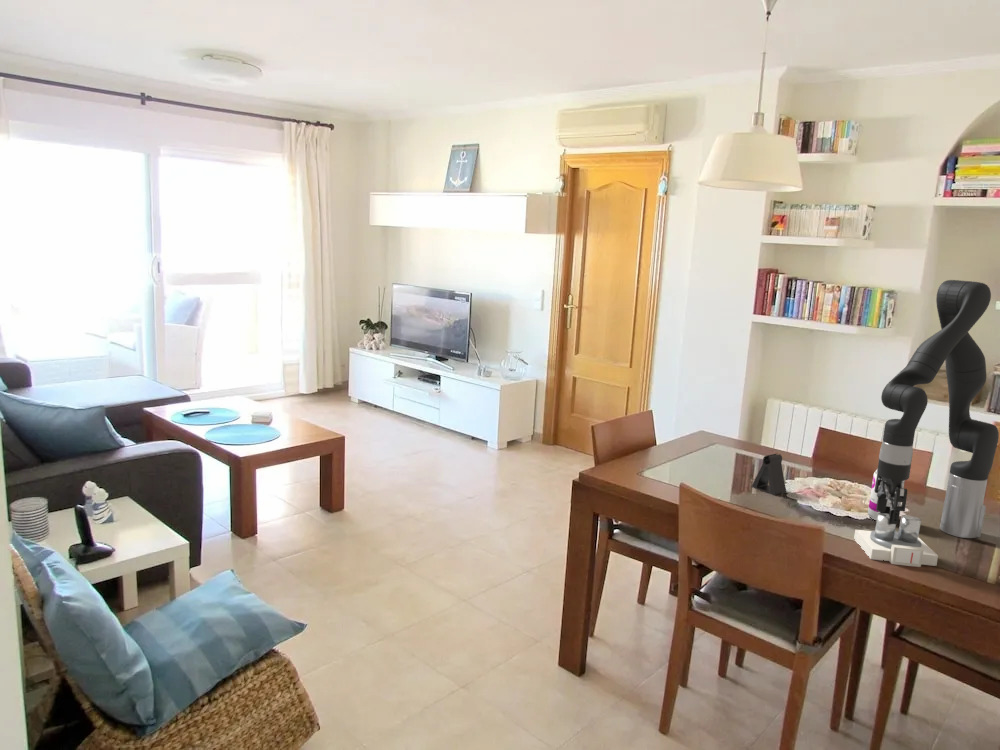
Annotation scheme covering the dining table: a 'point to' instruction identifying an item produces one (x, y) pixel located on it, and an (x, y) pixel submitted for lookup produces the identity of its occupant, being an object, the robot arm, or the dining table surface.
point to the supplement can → (873, 500)
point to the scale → (896, 550)
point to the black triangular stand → (770, 476)
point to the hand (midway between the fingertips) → (886, 517)
